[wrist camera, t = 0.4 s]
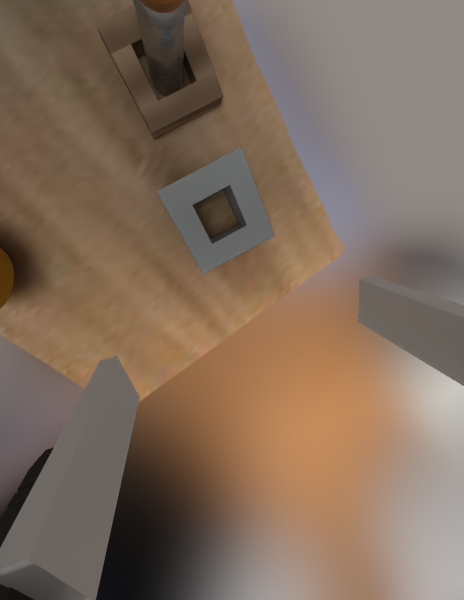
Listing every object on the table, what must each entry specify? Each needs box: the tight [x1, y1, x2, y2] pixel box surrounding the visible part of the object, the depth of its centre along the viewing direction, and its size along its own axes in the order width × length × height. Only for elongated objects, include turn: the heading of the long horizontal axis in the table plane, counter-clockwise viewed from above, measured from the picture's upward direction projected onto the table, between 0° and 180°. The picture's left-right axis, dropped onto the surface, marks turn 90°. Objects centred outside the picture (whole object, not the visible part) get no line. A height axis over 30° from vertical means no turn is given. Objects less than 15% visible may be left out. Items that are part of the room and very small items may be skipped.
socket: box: [157, 147, 274, 274], centre depth 32 cm, size 12×12×5 cm
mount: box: [96, 0, 223, 140], centre depth 26 cm, size 10×10×2 cm
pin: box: [134, 0, 185, 97], centre depth 20 cm, size 5×5×15 cm
